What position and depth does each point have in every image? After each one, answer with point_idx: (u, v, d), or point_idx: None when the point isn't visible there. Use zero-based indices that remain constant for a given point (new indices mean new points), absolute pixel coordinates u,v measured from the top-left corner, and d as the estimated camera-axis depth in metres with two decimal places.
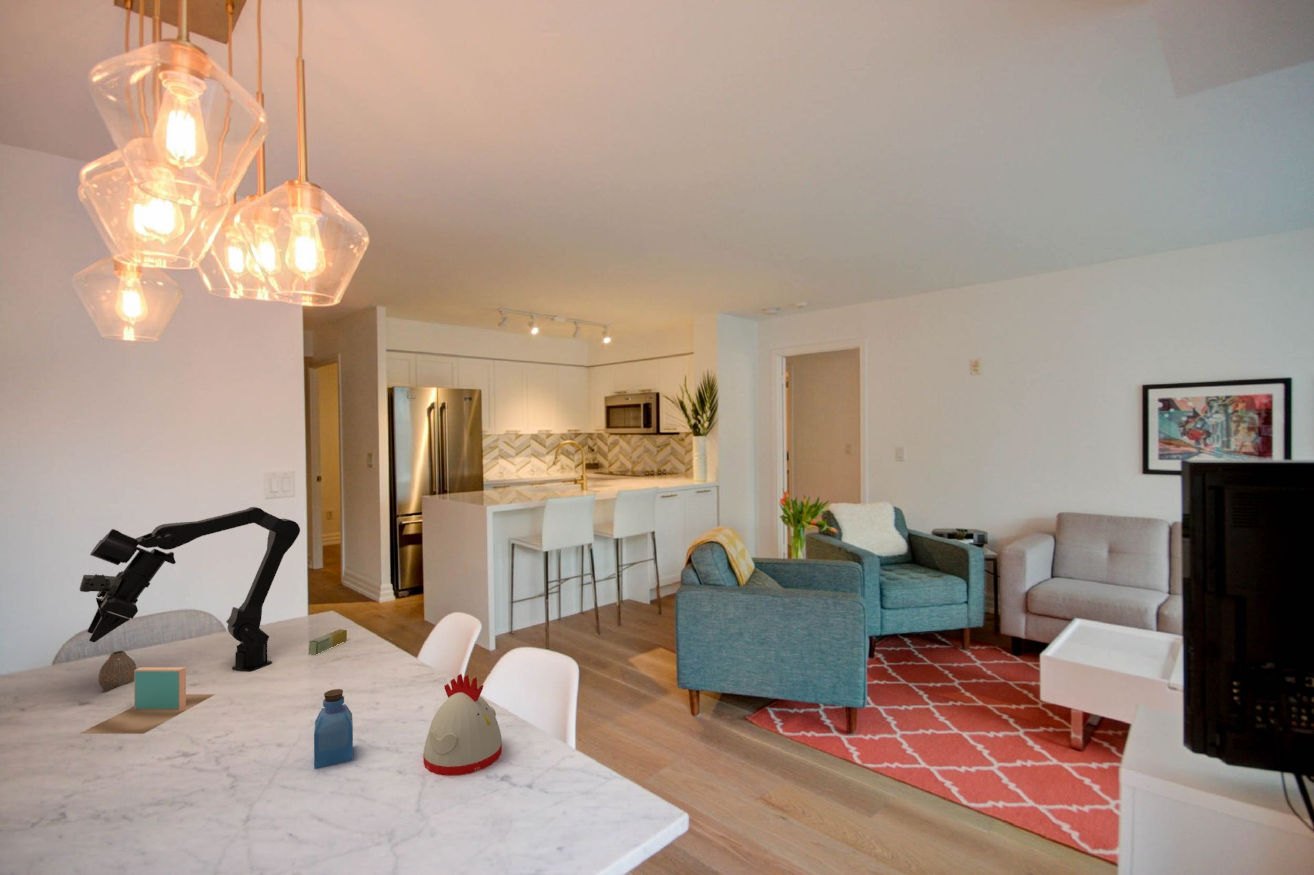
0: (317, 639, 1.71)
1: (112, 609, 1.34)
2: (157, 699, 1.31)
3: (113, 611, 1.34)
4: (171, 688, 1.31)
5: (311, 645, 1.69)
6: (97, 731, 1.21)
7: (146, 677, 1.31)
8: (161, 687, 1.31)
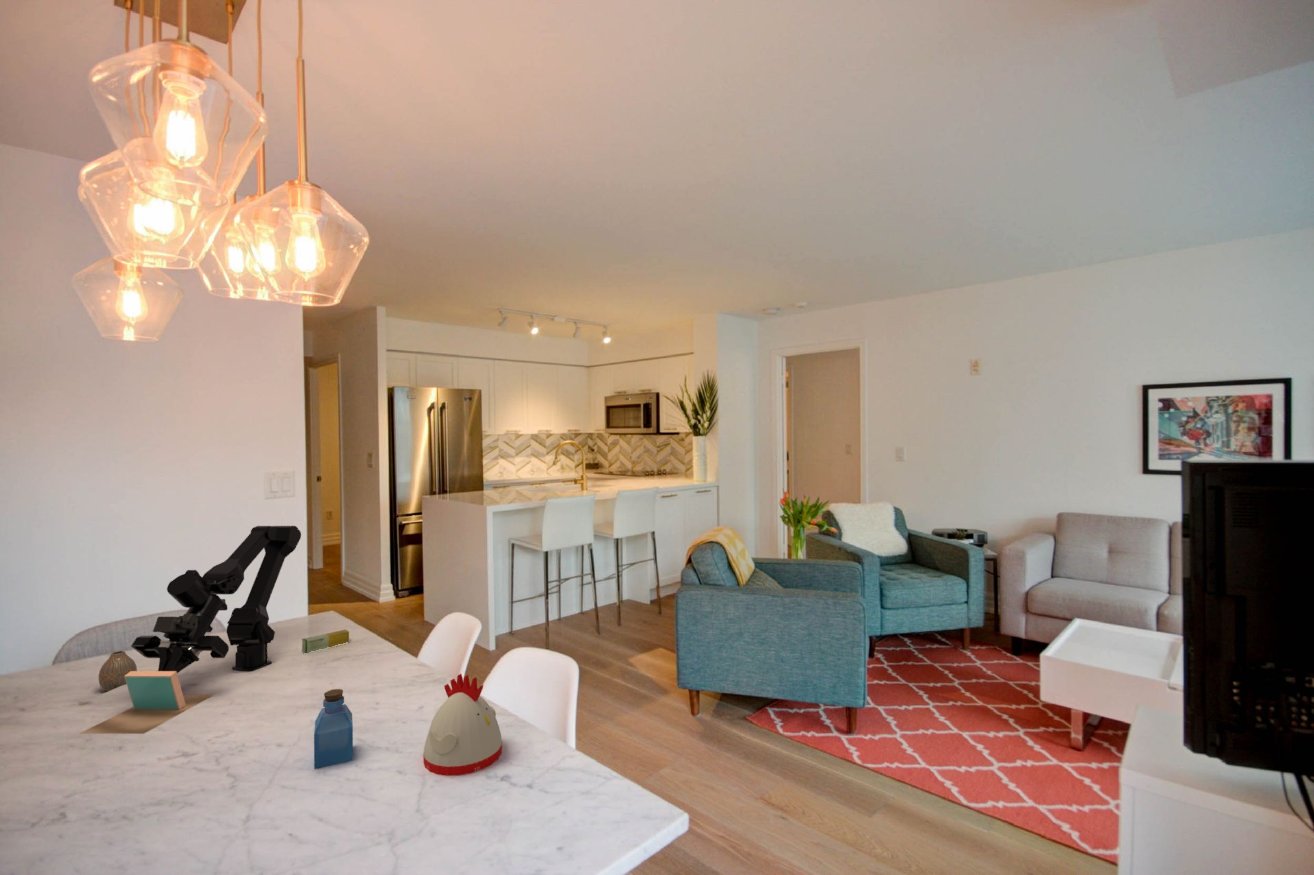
0: (310, 638, 1.72)
1: (217, 646, 1.36)
2: (155, 701, 1.30)
3: (217, 648, 1.36)
4: (166, 692, 1.29)
5: (303, 643, 1.71)
6: (97, 731, 1.21)
7: (138, 682, 1.29)
8: (156, 691, 1.29)
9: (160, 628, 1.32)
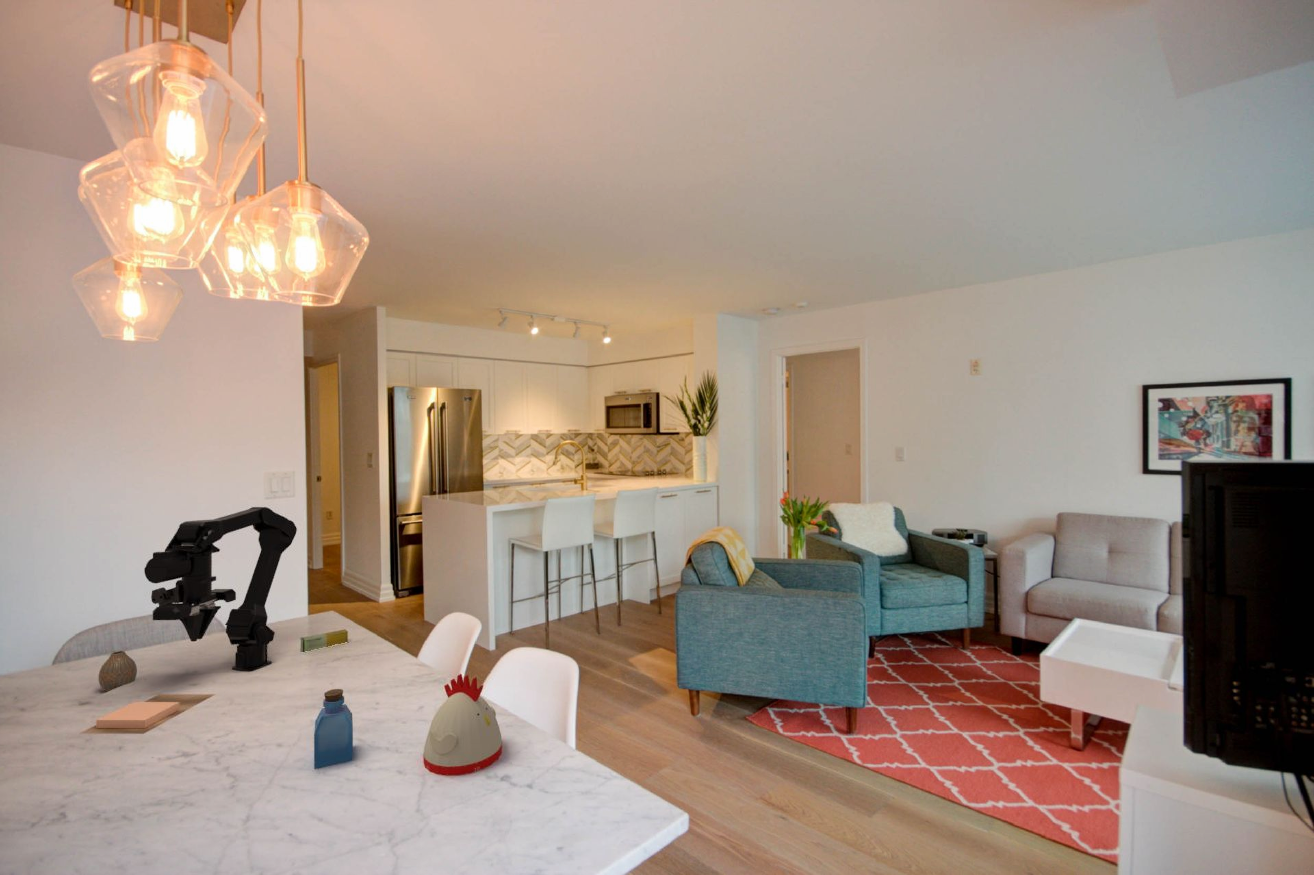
0: (308, 637, 1.73)
1: (158, 617, 1.35)
2: None
3: (160, 619, 1.35)
4: None
5: (301, 642, 1.72)
6: (97, 731, 1.21)
7: None
8: None
9: None
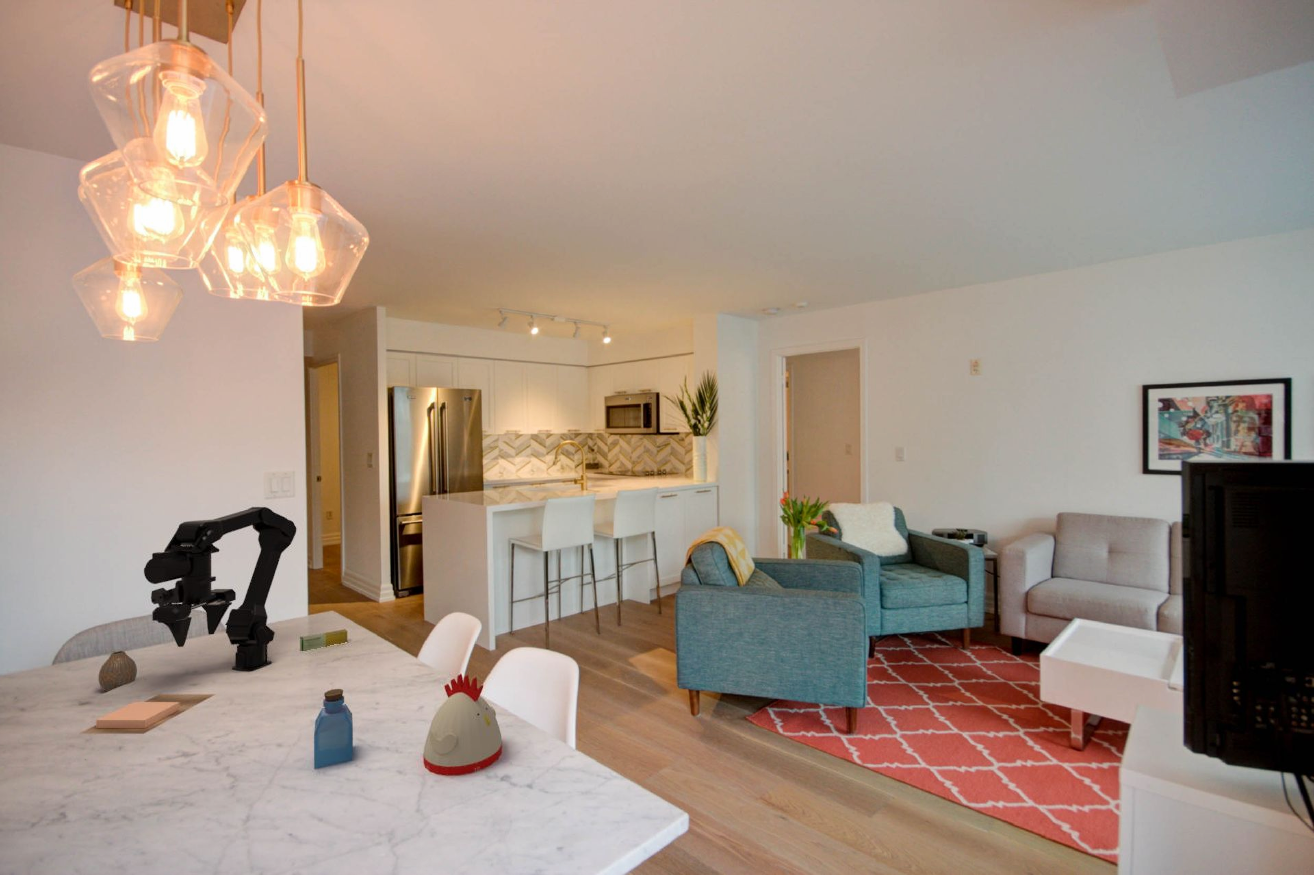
0: (308, 636, 1.73)
1: (158, 618, 1.35)
2: None
3: (159, 619, 1.35)
4: None
5: (300, 642, 1.72)
6: (97, 731, 1.21)
7: None
8: None
9: None
